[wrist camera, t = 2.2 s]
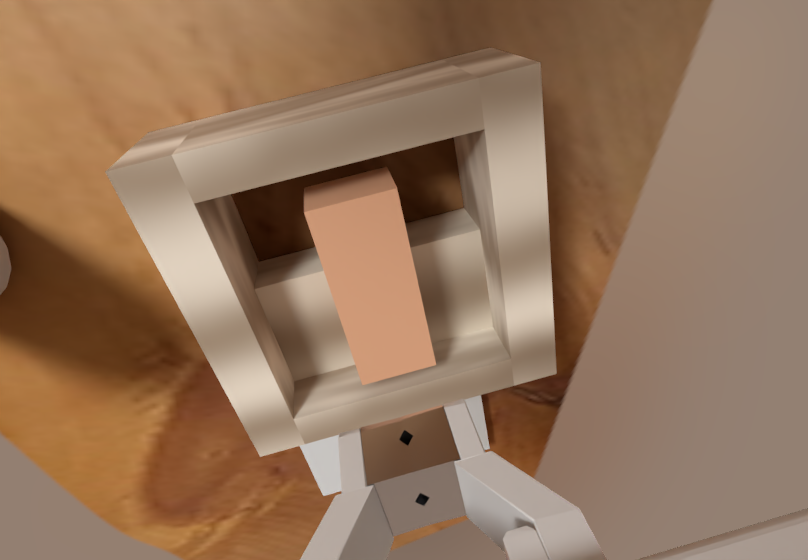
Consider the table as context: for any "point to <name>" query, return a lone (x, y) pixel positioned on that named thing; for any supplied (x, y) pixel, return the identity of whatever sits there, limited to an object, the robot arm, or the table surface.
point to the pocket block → (302, 271)
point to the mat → (326, 451)
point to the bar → (370, 272)
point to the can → (4, 266)
